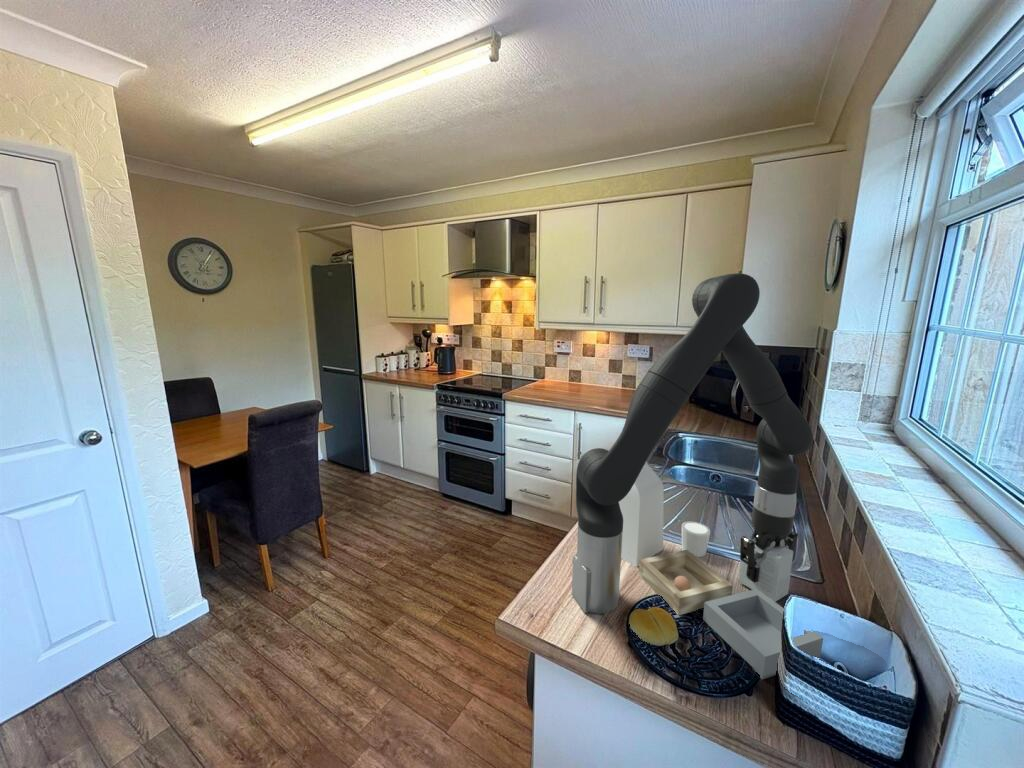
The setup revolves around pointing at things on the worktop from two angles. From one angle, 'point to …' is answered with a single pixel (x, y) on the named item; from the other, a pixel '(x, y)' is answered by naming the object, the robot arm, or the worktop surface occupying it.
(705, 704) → the worktop surface
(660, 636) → the bread roll
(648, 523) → the milk
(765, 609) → the grey tub
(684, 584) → the ball
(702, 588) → the birch box
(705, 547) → the white cylinder
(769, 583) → the small box
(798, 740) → the worktop surface
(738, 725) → the worktop surface
